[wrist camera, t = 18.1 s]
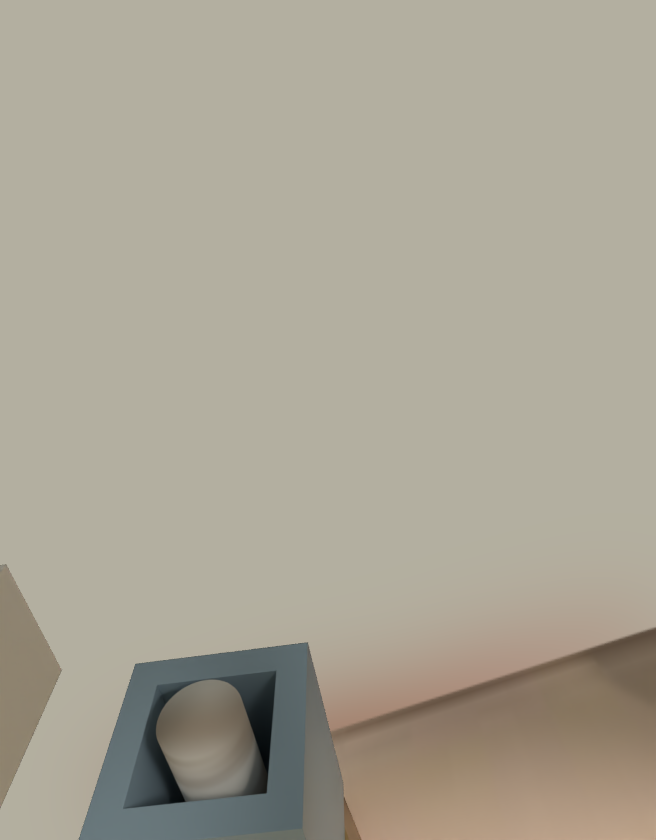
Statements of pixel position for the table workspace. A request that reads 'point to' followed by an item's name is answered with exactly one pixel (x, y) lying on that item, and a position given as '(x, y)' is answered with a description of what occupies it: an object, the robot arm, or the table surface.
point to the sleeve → (276, 738)
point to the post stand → (215, 746)
